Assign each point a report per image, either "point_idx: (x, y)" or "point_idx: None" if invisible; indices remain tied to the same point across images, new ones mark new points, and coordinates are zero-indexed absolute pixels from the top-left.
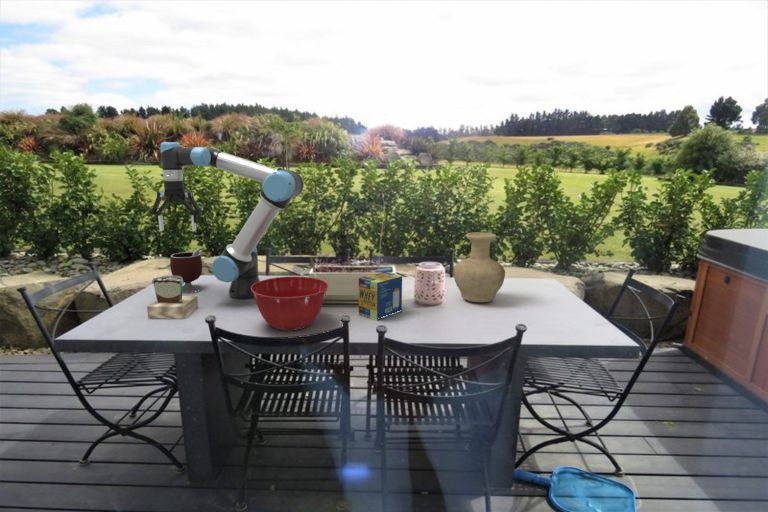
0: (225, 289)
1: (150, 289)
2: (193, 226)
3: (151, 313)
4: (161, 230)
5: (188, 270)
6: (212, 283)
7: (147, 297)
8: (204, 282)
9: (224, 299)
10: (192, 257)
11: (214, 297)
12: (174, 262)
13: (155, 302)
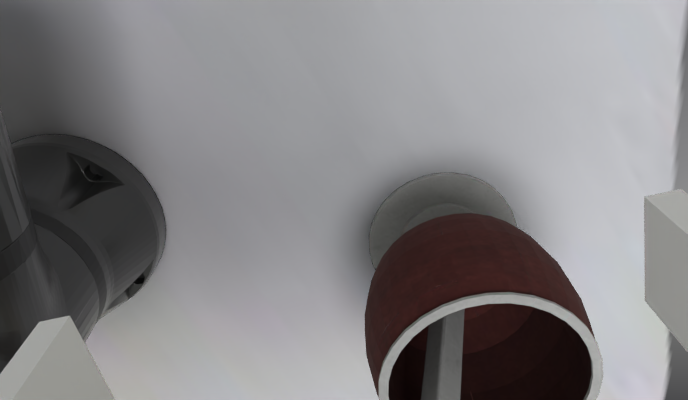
0: (243, 278)
1: None
2: (5, 380)
3: None
4: (652, 207)
5: (406, 251)
6: None
7: (604, 63)
8: None
9: (128, 114)
10: (396, 339)
11: (209, 138)
12: (520, 267)
13: None
